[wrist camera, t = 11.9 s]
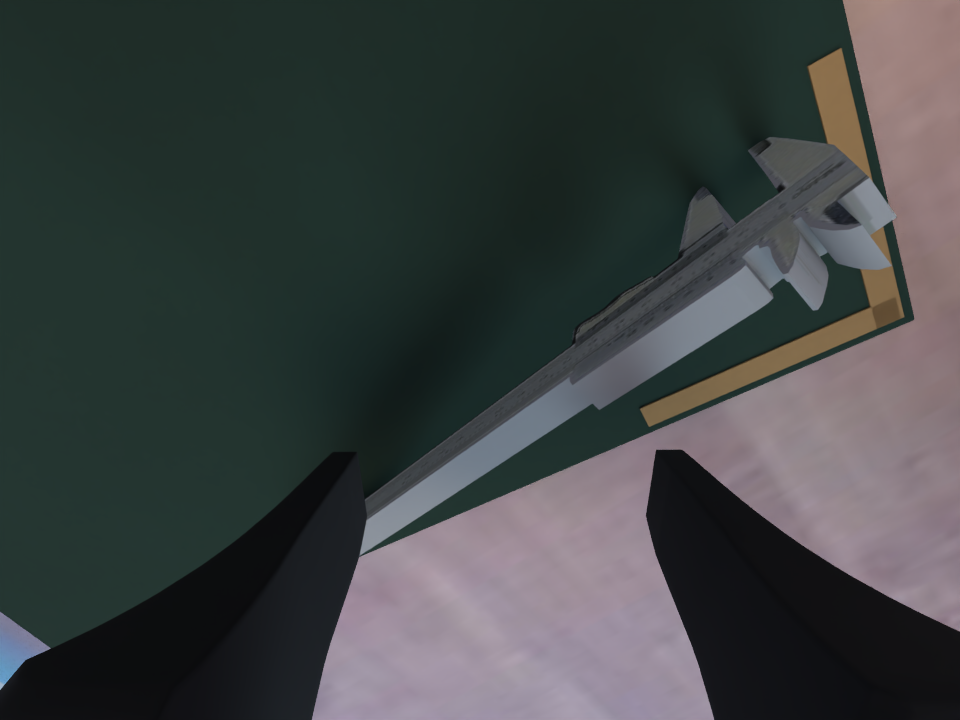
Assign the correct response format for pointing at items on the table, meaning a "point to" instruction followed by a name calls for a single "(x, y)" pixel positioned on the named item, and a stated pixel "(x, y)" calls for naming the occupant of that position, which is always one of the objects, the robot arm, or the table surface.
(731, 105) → the desk mat
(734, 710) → the robot arm
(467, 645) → the table surface
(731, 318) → the caliper
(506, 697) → the table surface
